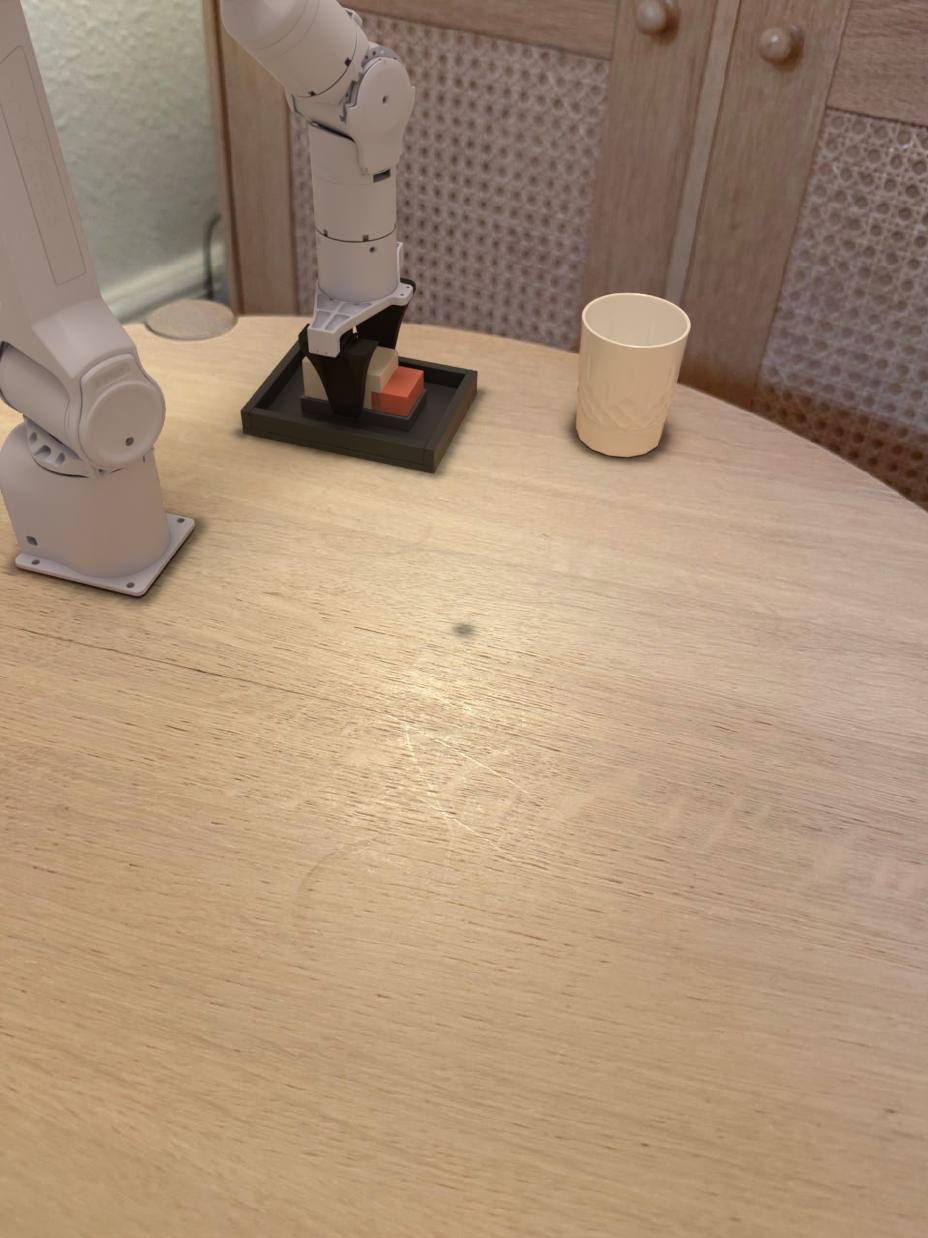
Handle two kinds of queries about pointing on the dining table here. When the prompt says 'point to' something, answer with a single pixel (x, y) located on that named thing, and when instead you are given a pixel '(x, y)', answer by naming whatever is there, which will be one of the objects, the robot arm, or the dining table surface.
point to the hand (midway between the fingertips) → (362, 391)
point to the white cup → (628, 371)
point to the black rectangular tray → (420, 448)
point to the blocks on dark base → (375, 392)
